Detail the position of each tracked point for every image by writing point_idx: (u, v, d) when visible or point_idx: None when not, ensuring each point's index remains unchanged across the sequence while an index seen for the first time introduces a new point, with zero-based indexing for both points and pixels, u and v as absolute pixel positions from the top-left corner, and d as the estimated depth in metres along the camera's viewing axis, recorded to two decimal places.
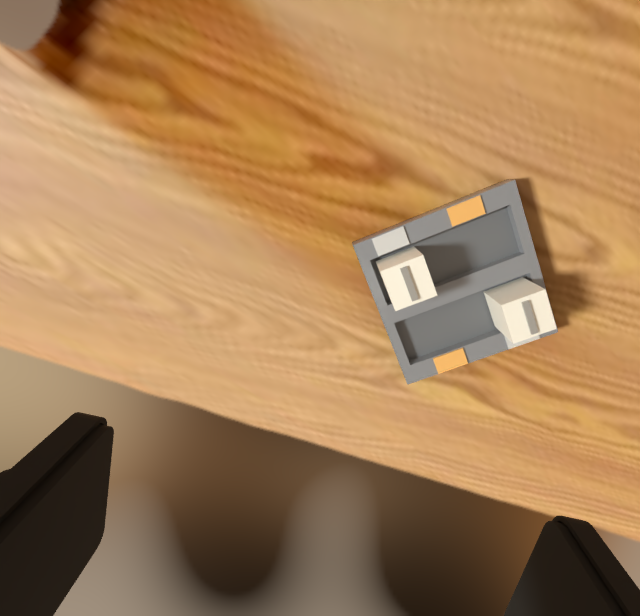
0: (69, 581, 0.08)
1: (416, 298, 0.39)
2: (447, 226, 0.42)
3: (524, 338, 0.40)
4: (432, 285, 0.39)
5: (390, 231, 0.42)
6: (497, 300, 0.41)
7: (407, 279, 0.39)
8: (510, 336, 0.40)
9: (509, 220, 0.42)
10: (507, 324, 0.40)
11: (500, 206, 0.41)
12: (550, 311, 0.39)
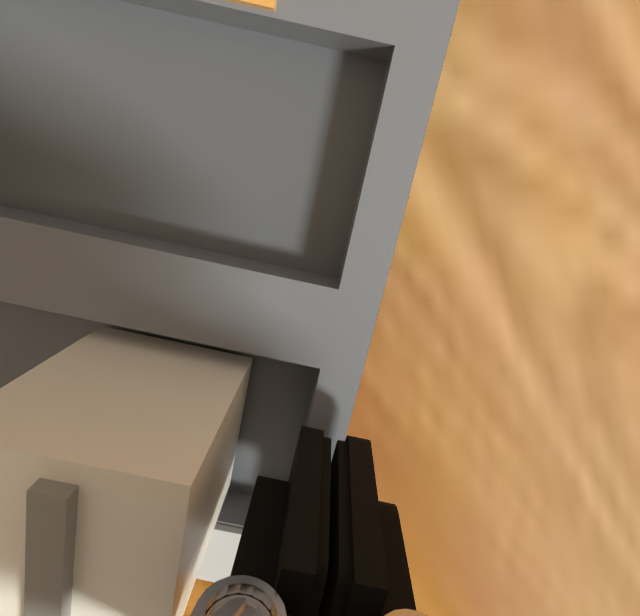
0: None
1: (36, 501, 0.06)
2: None
3: None
4: None
5: None
6: None
7: (44, 601, 0.07)
8: None
9: None
10: None
11: None
12: None
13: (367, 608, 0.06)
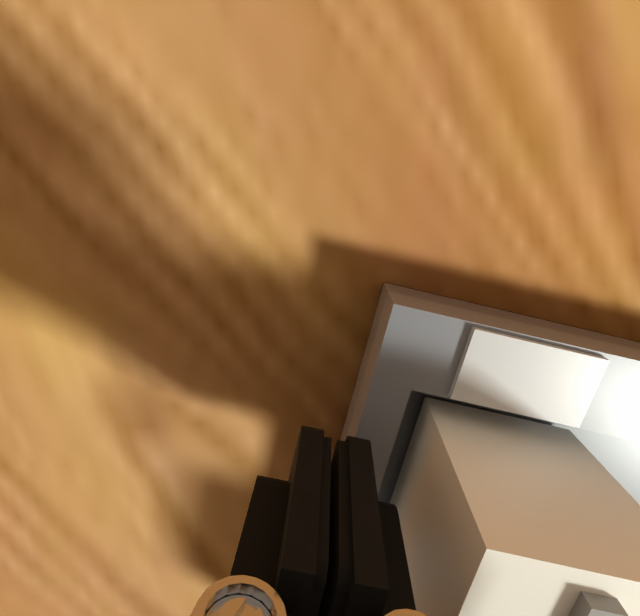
0: None
1: None
2: None
3: None
4: None
5: None
6: None
7: None
8: None
9: None
10: None
11: None
12: None
13: (367, 608, 0.06)
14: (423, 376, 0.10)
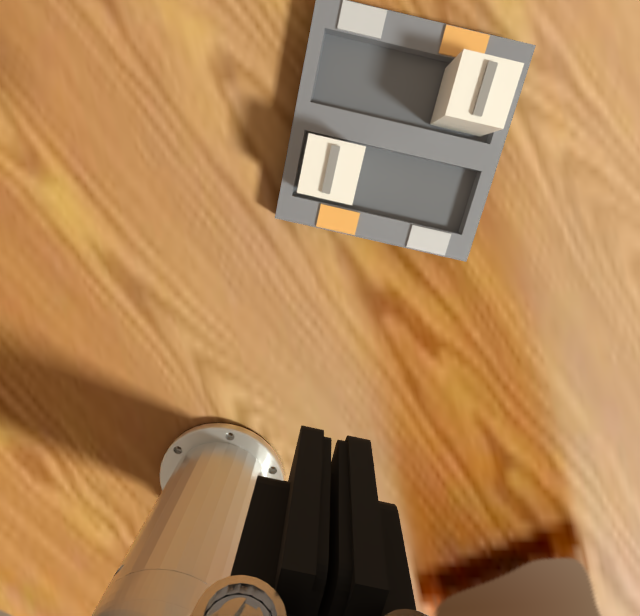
0: None
1: (333, 147, 0.29)
2: (364, 215, 0.35)
3: (507, 61, 0.28)
4: (307, 149, 0.30)
5: (421, 250, 0.35)
6: (493, 130, 0.30)
7: (329, 177, 0.30)
8: None
9: (298, 175, 0.35)
10: (512, 96, 0.28)
11: (302, 200, 0.35)
12: (456, 79, 0.28)
13: (367, 608, 0.06)
14: (328, 21, 0.31)
